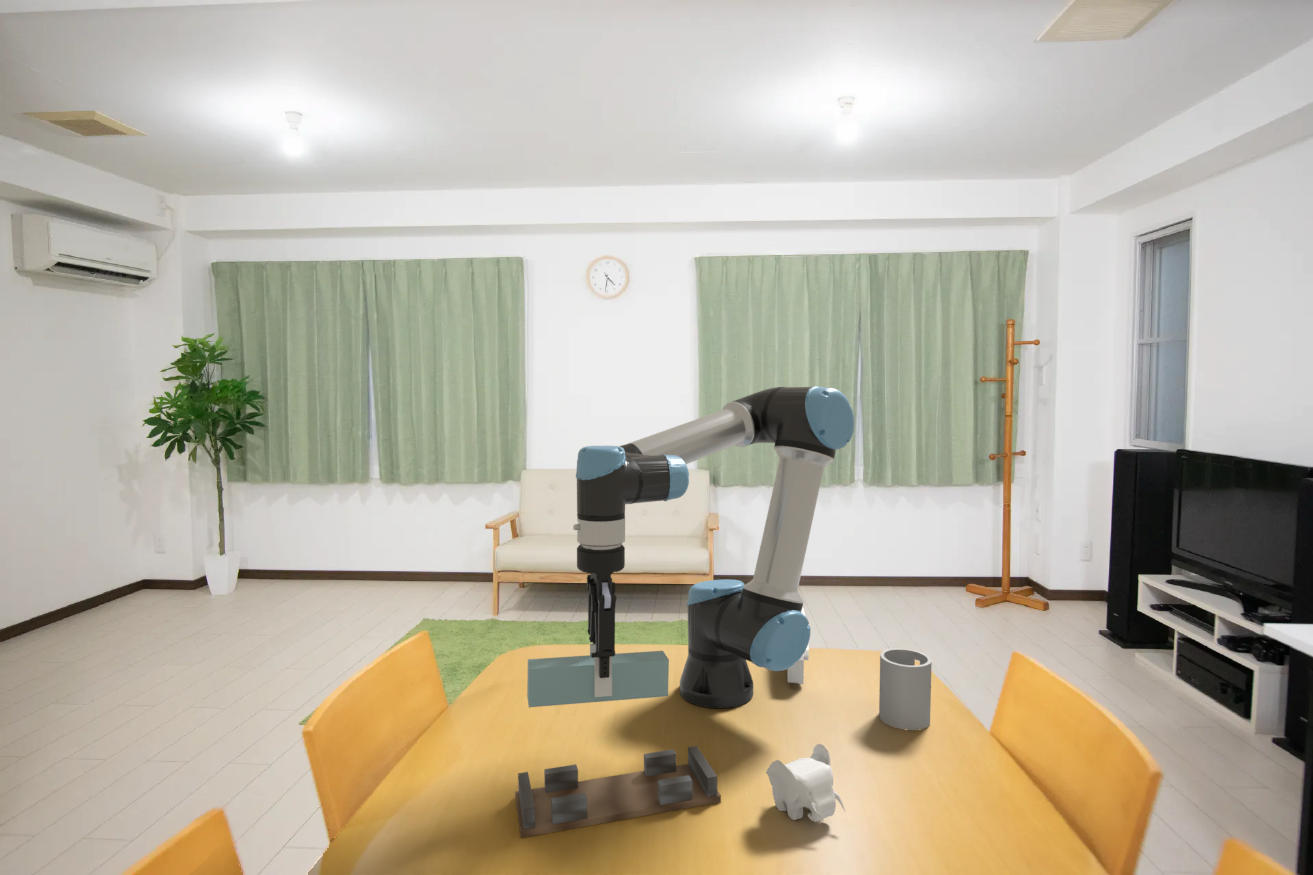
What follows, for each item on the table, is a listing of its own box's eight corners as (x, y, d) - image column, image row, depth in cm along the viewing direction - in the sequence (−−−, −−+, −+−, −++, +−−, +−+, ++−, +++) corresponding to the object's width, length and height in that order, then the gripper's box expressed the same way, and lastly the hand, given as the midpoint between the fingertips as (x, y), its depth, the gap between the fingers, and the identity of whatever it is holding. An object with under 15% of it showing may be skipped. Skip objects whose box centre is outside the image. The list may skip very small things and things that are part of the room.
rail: (662, 685, 116) (662, 650, 116) (667, 696, 112) (668, 659, 112) (527, 696, 111) (527, 659, 111) (528, 707, 107) (529, 669, 107)
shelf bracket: (806, 644, 171) (807, 598, 168) (808, 710, 148) (809, 658, 144) (784, 643, 172) (784, 597, 169) (782, 708, 149) (782, 656, 146)
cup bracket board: (698, 767, 116) (698, 744, 116) (720, 801, 107) (720, 776, 107) (515, 797, 108) (514, 772, 108) (521, 837, 99) (520, 810, 98)
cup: (877, 725, 130) (878, 662, 130) (881, 704, 139) (882, 645, 138) (929, 734, 127) (931, 669, 126) (930, 712, 135) (931, 651, 135)
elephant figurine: (810, 846, 96) (810, 784, 96) (753, 802, 107) (754, 746, 106) (858, 822, 102) (859, 763, 101) (800, 783, 112) (800, 729, 111)
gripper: (570, 534, 118) (571, 670, 119) (584, 558, 101) (584, 715, 103) (614, 532, 119) (614, 666, 121) (635, 555, 103) (634, 710, 104)
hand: (600, 688), depth 112 cm, fingers closed on rail, 4 cm apart
